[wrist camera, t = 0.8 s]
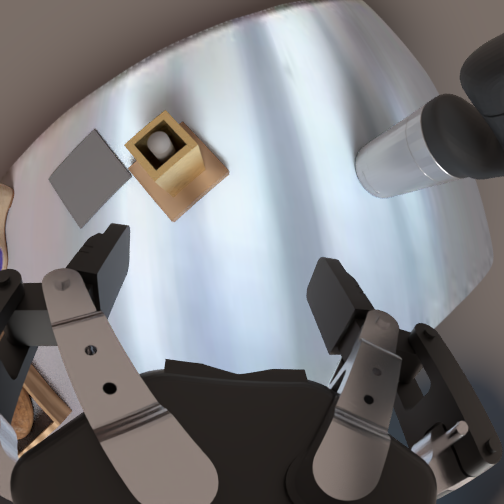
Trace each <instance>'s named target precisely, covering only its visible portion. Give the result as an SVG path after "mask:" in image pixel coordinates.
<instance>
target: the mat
mask: <svg viewBox="0 0 504 504" xmlns="http://www.w3.org/2000/svg"><path fill="white" fill-rule="evenodd" d="M131 177H132V176H131V175H130V174H129V172H128V171H127V170H126V169H125V167H124V166H123V165H122V164H121V162H120V161H119V160H118V159H117V157H116V156H115V155H114V154H113V152H112V151H111V150H110V149H109V147H108V146H107V145H106V143H105V142H104V141H103V140H102V138H101V137H100V136H99V134H98V133H97V132H96V131H95V130H93V131H92V132H91V133H90V134H89V135H88V136H87V137H86V138H85V139H84V140H83V141H82V142H81V143H80V144H79V145H78V146H77V147H76V149H75V150H74V151H73V152H72V153H71V154H70V155H69V156H68V157H67V158H66V159H65V160H64V161H63V163H62V164H61V165H60V166H59V167H58V168H57V169H56V171H55V172H54V173H53V174H52V175H51V176H50V178H49V181H50V182H51V184H52V186H53V187H54V189H55V191H56V192H57V194H58V195H59V197H60V199H61V200H62V202H63V203H64V205H65V206H66V208H67V209H68V211H69V212H70V214H71V215H72V217H73V218H74V220H75V221H76V223H77V224H78V226H79V227H80V228H83V226H84V225H85V224H86V223H87V222H88V221H89V220H90V219H91V218H92V217H93V215H94V214H95V213H96V212H97V211H98V210H99V209H100V208H101V207H102V206H103V205H104V204H105V203H106V202H107V201H108V200H109V199H110V198H111V197H112V196H113V195H114V194H115V193H116V192H117V191H118V190H119V189H120V188H121V187H122V186H123V185H124V184H125V183H126V182H127V181H128V180H129V179H130V178H131Z"/></svg>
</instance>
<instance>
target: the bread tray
mask: <svg viewBox="0 0 504 504" xmlns="http://www.w3.org/2000/svg"><path fill="white" fill-rule="evenodd" d="M3 334H4V331H3V332H2V334H1V335H0V340H1V338H2V336H3ZM23 387H24V388H25V389H26V390H27V392H28V393H29V394H30V395H31V397H32V398H33V399H34V400H35V401H36V402H37V404H38V405H39V406H40V407H41V408H42V409H43V410H44V411H45V413H46V414H47V415H48V416H49V417H50V418H51V419H52V420H53V422H52V423H51V424H50V425H49V426H48V427H46V428H45V429H44V430H43V431H42V432H41V433H40V434H39V435H38V436H37V437H36V438H35V439H34V440H33V441H32V442H31V443H29V444H28V445H27V446H26V447H25V448H24V449H23V450H22V451H21V452H20V451H19V450H18V449H17V450H18V458H20V457H21V456H22V455H23V454H24V453H25V452H27V451H28V450H29V449H31V448H32V447H34V446H35V445H37V444H38V443H40V442H41V441H42V440H43V439H44V438H46V437H47V436H48V435H49V434H50V433H51V432H52V431H54V430H55V429H56V428H57V427H58V426H59V425H60V424H61V423H62V422H63V421H64V420H65V419H66V418H67V416H68V415H69V414H70V413H71V412H72V410H71V409H70V408H69V407H68V406H67V405H66V404H65V403H64V402H63V401H62V400H61V399H60V398H59V396H58V395H57V394H56V393H55V392H54V391H53V390H52V389H51V387H50V386H49V385H48V384H47V383H46V381H45V380H44V379H43V378H42V377H41V375H40V374H39V373H38V372H37V370H36V369H35V368H34V366H33V365H32V364H31V365H30V368H29V371H28V373H27V376H26V379H25V381H24V384H23Z"/></svg>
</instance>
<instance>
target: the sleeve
mask: <svg viewBox="0 0 504 504" xmlns="http://www.w3.org/2000/svg"><path fill="white" fill-rule="evenodd" d="M159 131H160V132H164V133H166V134H167V136H168V137H169V139H170V141H171V143H172V145H173V146H174V148H175V150H176V151H177V150H178V149H179V151H178V152H177V153H176V154H175V155H174V156H172V157H171V158H170V159H169V160H168V161H167V162H165V163H164V164H163V165H162V166H161V167H160V168H159V169H157V168H158V167H159V166H160V165H161V162H160V161H159V160H158V159H157V158H156V156H155V155H154V154H153V153H152V152H151V150H150V149H149V148H148V145H147V141H148V139H149V137H150V136H151V135H152V134H153V133H155V132H159ZM124 146H125V147H126V148H127V149H128V150H129V152H130V153H131V154H132V155H133V156H134V158H135V159H136V160H137V161H138V162H139V164H140V165H141V166H142V167H143V168H144V170H145V171H146V172H147V173H148V174H149V176H150V177H151V178H152V179H153V180H154V181H155V182H156V183H157V184H158V185H159V186H160V187H162V188H163V189H164V190H165V191H166V192H168V193H169V194H170V195H171V196H172V197H173V198H174V197H175V196H176V195H177V194H178V193H179V192H180V191H182V190H183V189H184V188H185V187H186V186H187V185H188V184H190V183H191V182H192V181H193V180H194V179H195V178H196V177H198V176H199V175H200V174H201V173H202V172H204V171H205V170H206V169H205V166H204V163H203V159H202V156H201V153H200V149H199V146H198V144H197V143H196V142H195V141H194V140H193V139H192V138H191V136H190V135H189V134H188V133H187V132H186V131H185V130H184V129H183V128H182V127H181V126H180V125H179V124H178V123H177V122H176V121H175V120H174V119H173V118H172V116H171V115H170V114H169V113H168V112H167V111H166V110H165V111H164V112H162V113H161V114H160V115H159V116H157V117H156V118H155V119H154V120H152V121H151V122H150V123H149V124H148V125H146V126H145V127H144V128H143V129H142V130H141V131H139V132H138V133H137V134H136V135H135V136H134V137H132V138H131V139H130V140H129V141H128V142H127V143H126V144H125V145H124Z"/></svg>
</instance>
